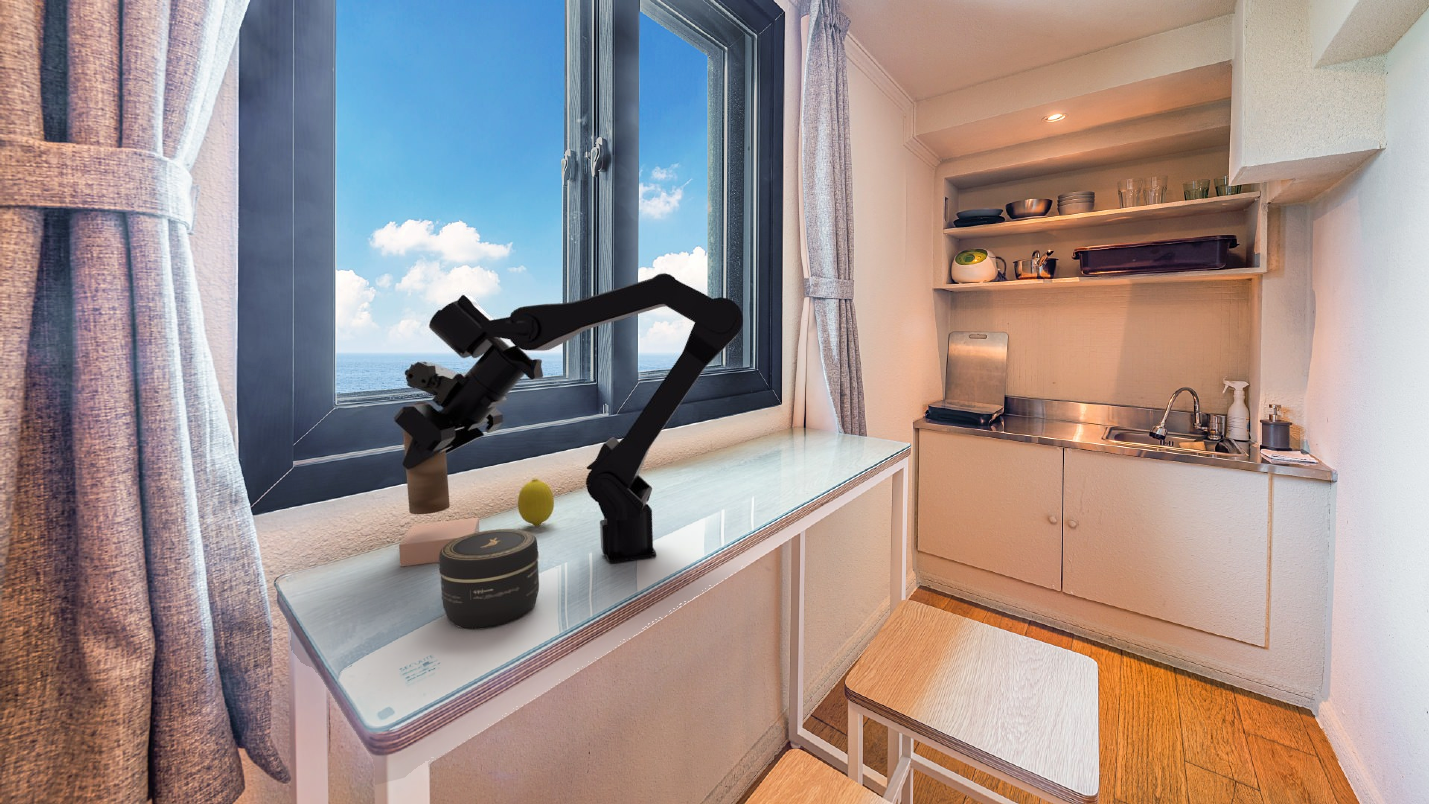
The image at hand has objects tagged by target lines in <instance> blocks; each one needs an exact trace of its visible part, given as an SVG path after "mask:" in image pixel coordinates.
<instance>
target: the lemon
mask: <svg viewBox="0 0 1429 804" xmlns="http://www.w3.org/2000/svg"><path fill="white" fill-rule="evenodd" d="M554 499H555V498H554V494H553V491H552V488H551V487H550V486H549V485H548V483H546V482H544V481H542V480H539V479H538V478H533V479H532V480H531V481H529V482H527V483H526V484H524V485H523V486H522V487H521V489H520V491H519V494H518V499H517V507H518V513H519V515H520V517H521V518H522V519H523V520H524V521H525V522H527V523H528V524H532V525H533V526H534V527H536V528H538V527H540V526H541V525H542V524H543V523H544V522H546V521H547V520H548V519H550V517H551V515H552V513H553V511H554V506H555V500H554Z"/></svg>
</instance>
